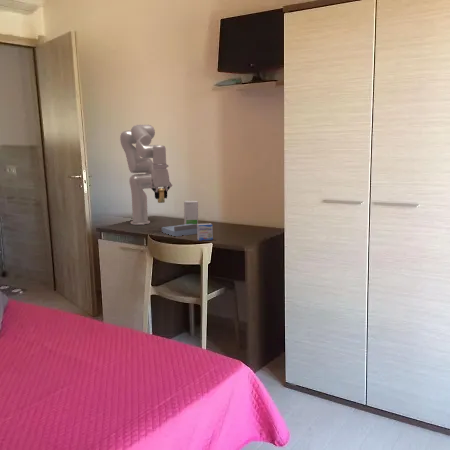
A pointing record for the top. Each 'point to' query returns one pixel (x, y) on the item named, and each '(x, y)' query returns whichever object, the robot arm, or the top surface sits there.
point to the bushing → (161, 195)
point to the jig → (181, 229)
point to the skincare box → (190, 212)
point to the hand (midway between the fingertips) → (161, 198)
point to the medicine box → (204, 232)
